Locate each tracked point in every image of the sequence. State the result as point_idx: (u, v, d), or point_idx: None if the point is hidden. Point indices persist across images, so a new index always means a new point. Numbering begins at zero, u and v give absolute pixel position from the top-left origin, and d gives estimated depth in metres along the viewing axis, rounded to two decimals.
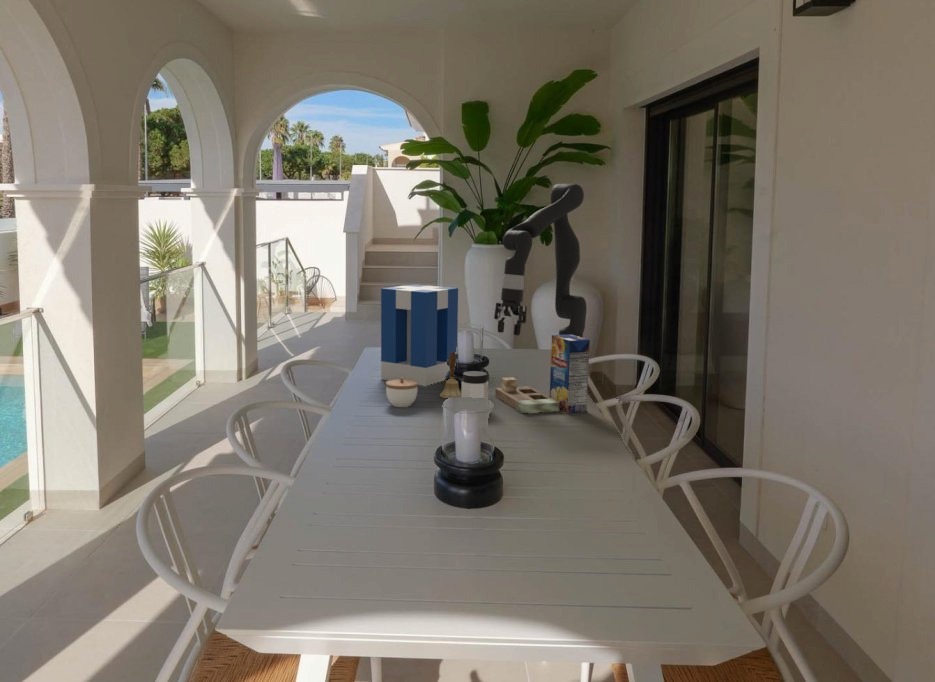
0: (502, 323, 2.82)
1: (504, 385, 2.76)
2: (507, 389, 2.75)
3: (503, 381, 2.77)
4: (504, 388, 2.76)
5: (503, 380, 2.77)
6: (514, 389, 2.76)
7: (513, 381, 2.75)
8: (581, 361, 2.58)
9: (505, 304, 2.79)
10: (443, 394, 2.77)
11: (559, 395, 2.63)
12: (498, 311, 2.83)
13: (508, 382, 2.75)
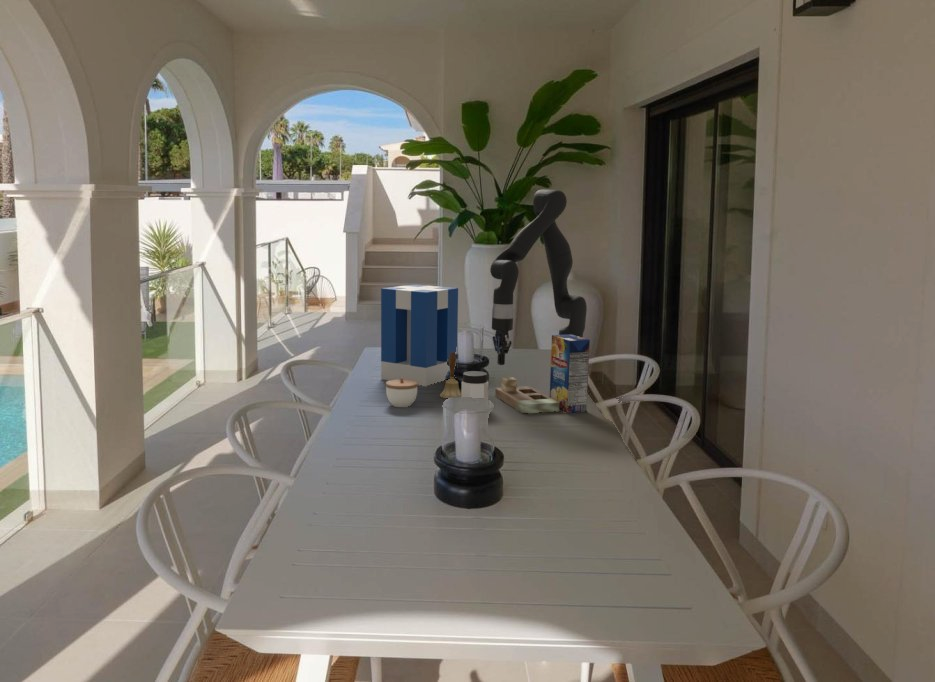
0: None
1: (504, 385, 2.76)
2: (507, 389, 2.75)
3: (503, 381, 2.77)
4: (504, 388, 2.76)
5: (503, 380, 2.77)
6: (514, 389, 2.76)
7: (513, 381, 2.75)
8: (581, 361, 2.58)
9: (497, 332, 2.83)
10: (443, 394, 2.77)
11: (559, 395, 2.63)
12: None
13: (508, 382, 2.75)
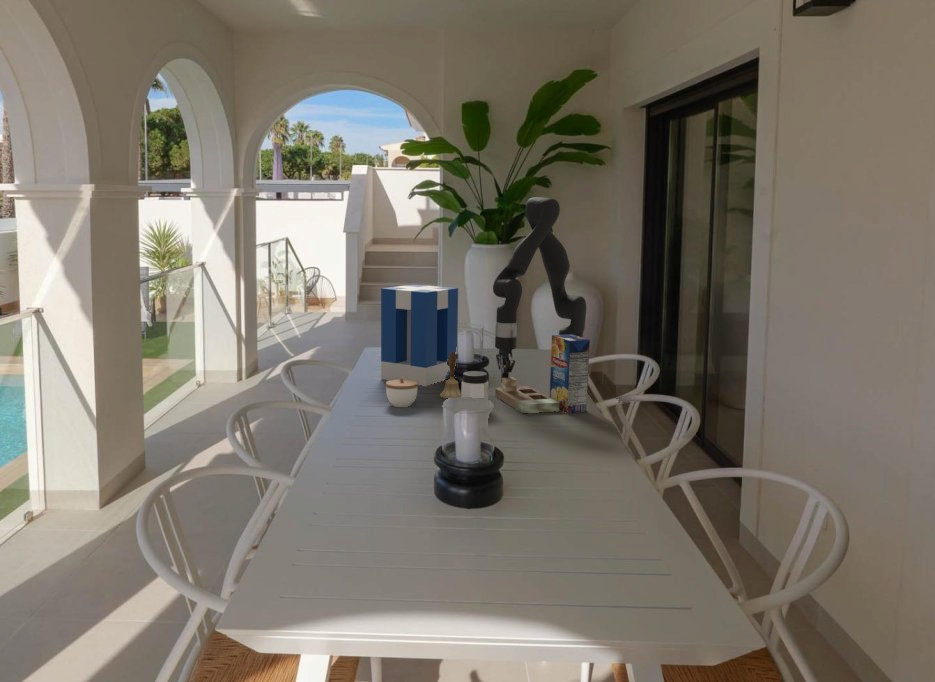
0: None
1: (504, 385, 2.76)
2: (507, 389, 2.75)
3: (503, 381, 2.77)
4: (504, 388, 2.76)
5: (503, 380, 2.76)
6: (514, 389, 2.76)
7: (513, 381, 2.75)
8: (581, 361, 2.58)
9: (500, 351, 2.80)
10: (443, 394, 2.77)
11: (559, 395, 2.63)
12: None
13: (508, 382, 2.74)
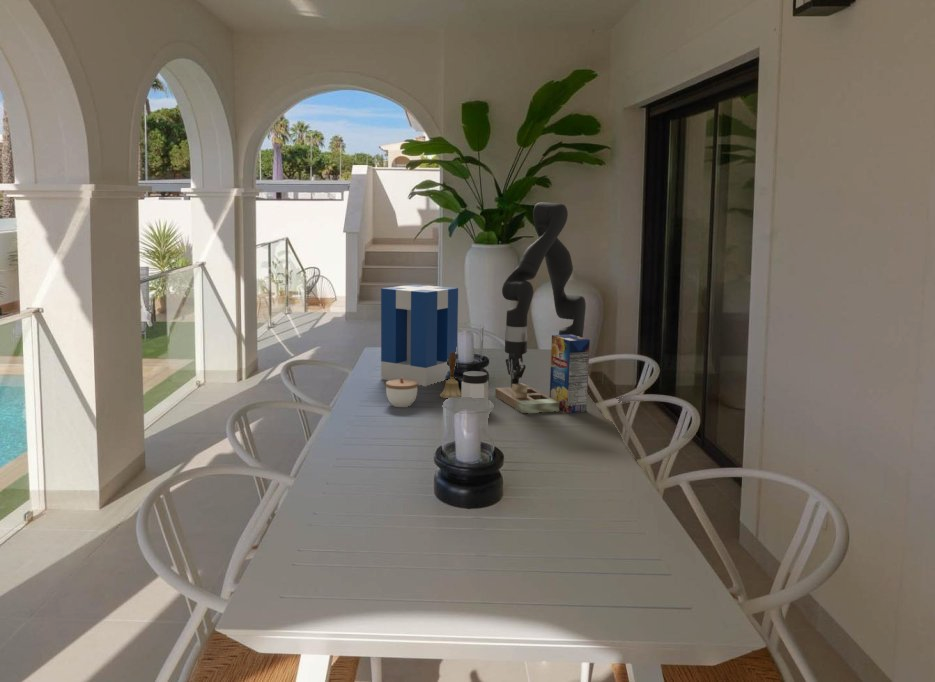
0: None
1: (514, 391, 2.67)
2: (517, 395, 2.66)
3: (513, 387, 2.68)
4: (514, 395, 2.67)
5: (513, 386, 2.67)
6: (524, 395, 2.67)
7: (523, 387, 2.66)
8: (581, 361, 2.58)
9: (510, 355, 2.71)
10: (443, 394, 2.77)
11: (559, 395, 2.63)
12: None
13: (518, 388, 2.65)
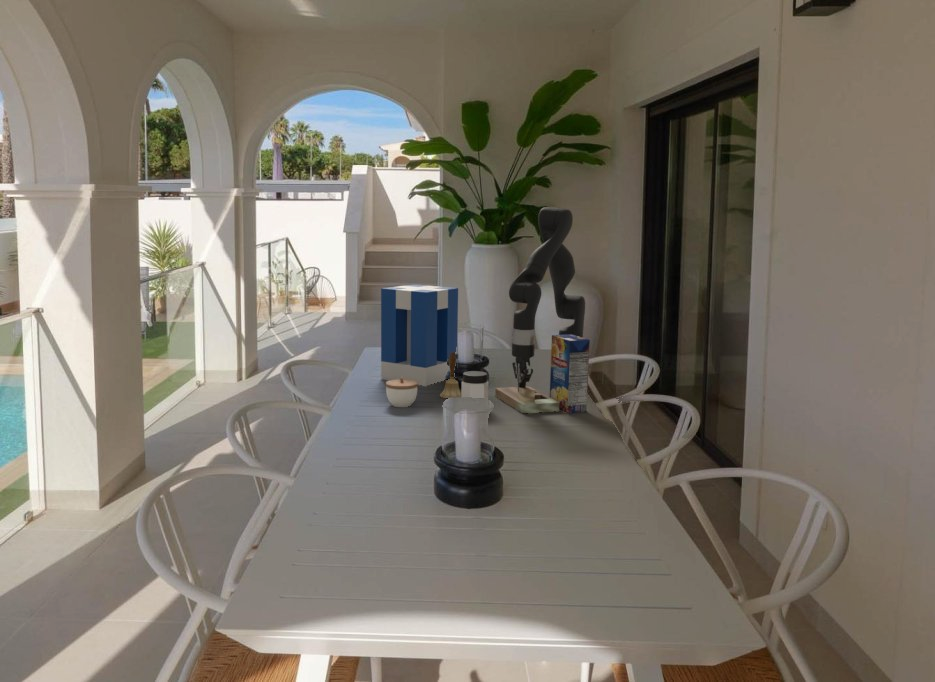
0: None
1: (521, 396, 2.61)
2: (525, 400, 2.60)
3: (520, 391, 2.62)
4: (521, 399, 2.61)
5: (520, 390, 2.61)
6: (532, 400, 2.61)
7: (531, 391, 2.60)
8: (581, 361, 2.58)
9: (517, 359, 2.65)
10: (443, 394, 2.77)
11: (559, 395, 2.63)
12: None
13: (526, 392, 2.60)
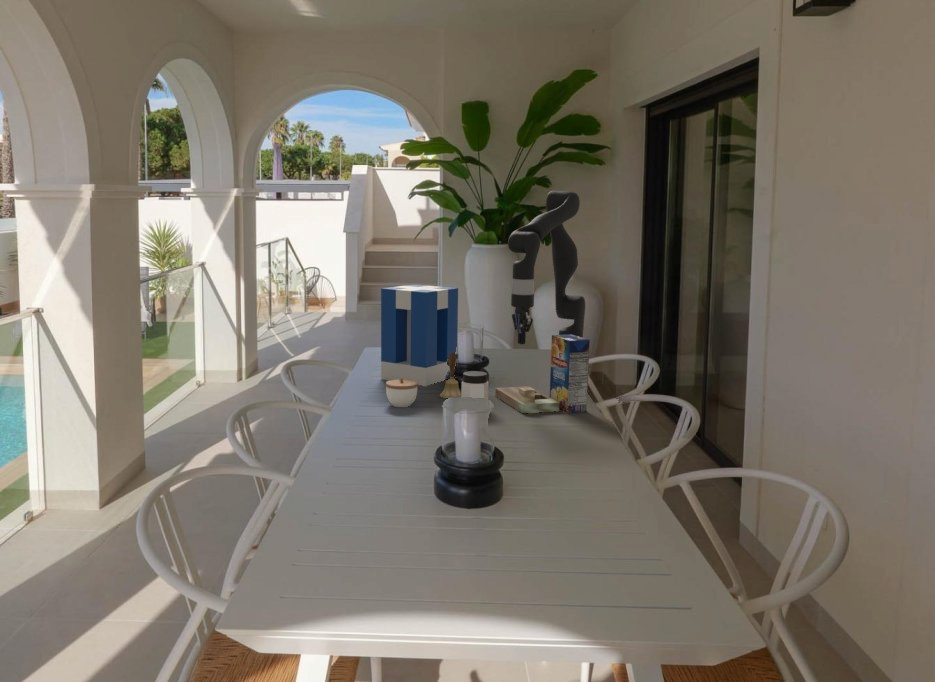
0: None
1: (521, 396, 2.61)
2: (525, 400, 2.60)
3: (520, 391, 2.62)
4: (521, 399, 2.61)
5: (520, 390, 2.61)
6: (532, 400, 2.61)
7: (531, 391, 2.60)
8: (581, 361, 2.58)
9: (517, 310, 2.66)
10: (443, 394, 2.77)
11: (559, 395, 2.63)
12: None
13: (526, 392, 2.60)
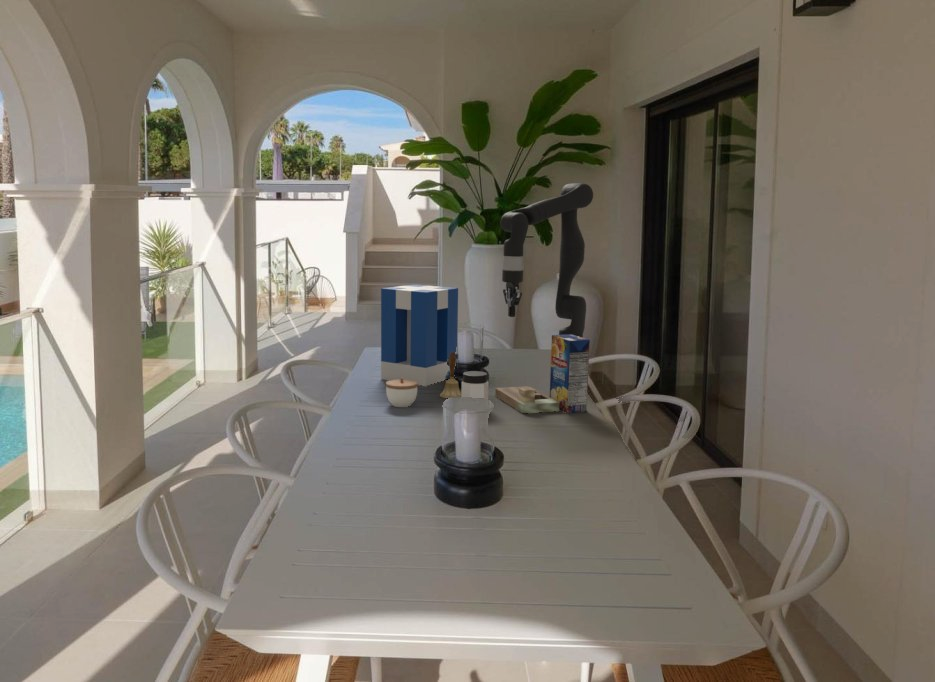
0: None
1: (521, 396, 2.61)
2: (525, 400, 2.60)
3: (520, 391, 2.62)
4: (521, 399, 2.61)
5: (520, 390, 2.61)
6: (532, 400, 2.61)
7: (531, 391, 2.60)
8: (581, 361, 2.58)
9: (507, 285, 2.87)
10: (443, 394, 2.77)
11: (559, 395, 2.63)
12: None
13: (526, 392, 2.60)
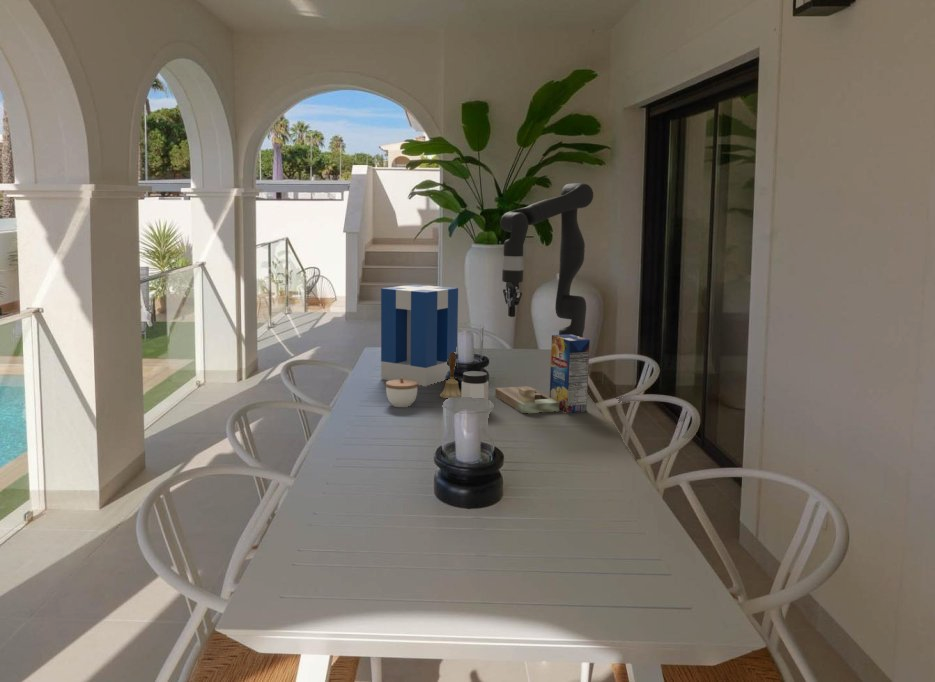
0: None
1: (521, 396, 2.61)
2: (525, 400, 2.60)
3: (520, 391, 2.62)
4: (521, 399, 2.61)
5: (520, 390, 2.61)
6: (532, 400, 2.61)
7: (531, 391, 2.60)
8: (581, 361, 2.58)
9: (507, 285, 2.87)
10: (443, 394, 2.77)
11: (559, 395, 2.63)
12: None
13: (526, 392, 2.60)
